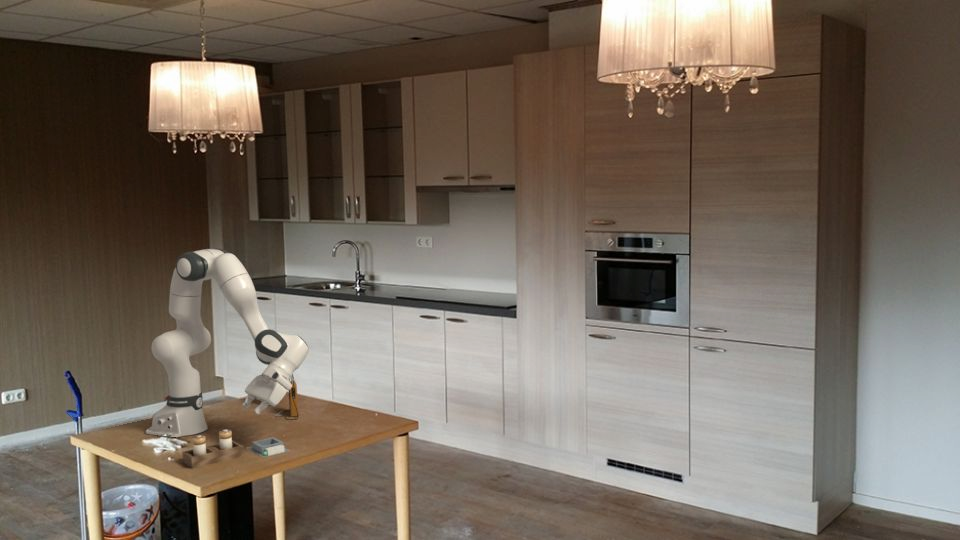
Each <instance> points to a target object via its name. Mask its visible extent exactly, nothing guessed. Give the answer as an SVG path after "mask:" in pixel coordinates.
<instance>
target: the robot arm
mask: <svg viewBox="0 0 960 540" xmlns="http://www.w3.org/2000/svg"><path fill="white" fill-rule="evenodd" d="M211 279H214V281H215V282H216V283H217V285H218V287H219V289H220V291H221V293H222V294H223V296H224V297H225V299H226V300H227V302H228V303H229V304H230V305H231V306H232V307H233V309H234V310H235V311H236V312H237V313H238V315H239V316H240V317H241V319H242V320H243V321H244V323H245V326H246V327H247V329H248V331H249V334H250V335H251V337H252V339H253V341H254V348H255V353H256V358H257V360H258V361H259V362H260V363H262V364H264V365H267V366H266V368H265V369H264V371H263V372H262V373H261V374H260V375H256V376H255V377H254V378H253V379H252V380H251V381H250V383H249V384H248V385H247V386H246V388H245V389H244V392H245V393H246V394H247V395H246V397H245V400H244V402H243V404H242V407H243V408H244V409H246V410H247V409H249V407H250V406H251V403H252V401H253V400H254V399H255V400H257V401H260V404H259V405H258V406H256V407H255V408H254V410H253V412H254V413H255V414H256V415H260V414H261V413H262V412H263V410H265V409H267V408H268V407H269V406H268V405H271V406H270V407H275V406H277V405H278V404H279V403H280V402H281V401H282V399H284V397H285V396H286V394H287V392H288V391H289V390H290V389H291V388H292V384H291V383H290V381H291V377H292V374H293V375H294V372H296V371H297V370H298V369H299V368H300V367H301V365H302V364H303V363H304V360H305V359H306V357H308V354H309V345H308V343H307V342H306V341H305V340H304V339H303V338H302V337H301V336H300V335H298V334H286V333H282V332H278V331H275V330H274V329H269V327H268V325H267V323H266V322H265V319H264V318H263V316H262V314H261V312H260V309H259V303H258V296H257V292H256V288H255V285H254V283H253V280H252V278H251V276H250V274H249V273H248V271H247V269H246V267H245V266H244V265H243V263H242V262H241V261H240V259H238V257H237V256H236V255H234V254H233V253H230V252H229V251H227V250H225V249H223V248H206V249H203V248H202V249H200V250H195V251H188V252H185V253H182V254H181V255H179V256H178V258H177V260H176V262H175V268H174V269H173V274H172V276H171V282H170V288H169V299H168V301H169V302H168V313H169V315H170V316H171V317H172V318H174V319H175V322H176V328H175V329H174V330H171V331H170V330H169V331H167V332H163V333H162V334H160V335H159V336H156V337H155V338H154V339H153V341H152V343H151V352H152V355H153V357H154V358H155V359H156V360H157V361H158V362H160V363H161V364H162V366H163V367H164V369H165V372H166V374H167V379H168V388H169V389H168V390H169V395H167V396H166V397H164V398H163V401H164V402H165V401H166V403H165V404H166V405H164V406H163V407H162V408H161V409H160V410H158V411H157V412H156V413H155V414H154V415H153V417H152V421H151V426H150V427H149V428H147V429H146V430H145V434H146V435H151V436H157V435H158V437H162V436H161V435H163V434H168V435H171V436H174V437H176V438H180V437H184V436H192V435H197V434H200V433H202V432H205V431H207V430H208V429H209V427H208V425H207V422H206V419H205V414H204V409H203V403H204V401H203V392H202V391H201V377H200V375H201V374H200V372H199V370H198V369H196V368H195V367H193V366H192V364H191V360H190V357H192V356H195V355H198V354H201V353H202V352H204V351H205V350H206V349H208V348H209V347H210V345H211V342H212V338H211V337H212V336H211V333H210V331H209V330H208V329H207V328H206V326H204V324H203V321H202V314H201V305H202V303H201V302H202V290H203V289H202V288H203V287H202V286H203V282H204V281H209V280H211ZM289 380H290V381H289Z"/></svg>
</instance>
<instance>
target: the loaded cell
mask: <svg viewBox="0 0 960 540" xmlns="http://www.w3.org/2000/svg"><path fill="white" fill-rule="evenodd" d="M206 440H207V439H206V435H201V434H198V435H197V434H196V435H195V436H193V437H192V448H193V449H192V450H193V454H194V456H199V455H203V454H206V447H207V445H206V444H207V443H206V442H207V441H206Z"/></svg>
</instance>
